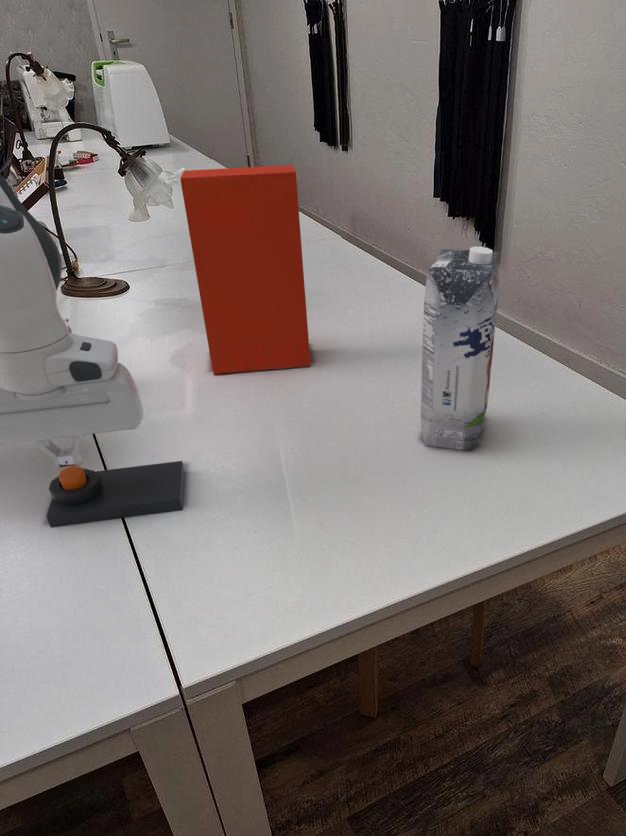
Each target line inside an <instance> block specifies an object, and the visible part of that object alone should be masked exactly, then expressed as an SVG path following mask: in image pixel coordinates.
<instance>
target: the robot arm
mask: <svg viewBox="0 0 626 836" xmlns="http://www.w3.org/2000/svg"><path fill="white" fill-rule="evenodd" d="M62 273H63V263H62V256H61V251H60V250H59V248H58V246H57V244H56V242H55V241H54V239H53V238H52V236H51V235H50V233H49V232H48V231H47V230H46V229H45V228H44V227H43V226H42V225H41V223H40V222H39V221H38V219H36V218H35V217H34V216H33V215H32V213H31V212H29V210H28V209H27V208H26V207H25V206H24V205H23V203H22V202H21V201H20V199H19V197H17V195H16V193H15V192H14V191H13V189H12V188H11V187H10V185H9V184H8V182H7V180H5V178H4V177H3V175H2V174H1V173H0V446H2V445H3V446H4V445H10V444H11V445H12V444H20V443H26V442H27V443H28V442H35V444H36V447H37V448H38V449H39V450H40V451H42V452H43V453H44V454H45V455H47V456H48V457H49V458H51V459H52V462H53V464H54V468H55V469H64V468H68V467H73V466H82V463H83V455H82V452H81V447H82V443H83V440H84V436H85V435H86V436H87V435H94V434H103V433H110V432H111V433H112V432H119V431H120V432H121V431H128V430H136V429H138V427H139V426H140V425H141V423H142V421H143V419H144V406H143V402H142V399H141V395H140V393H139V390H138V387H137V385H136V383H135V380H134V378H133V376H132V374H131V372H130V370H129V369H128V368H127V367H126V366H125V364H124V365H123V363H121V362H119V349H118V347H117V344H116V343H115V342H113V341H111V340H107V339H102V338H101V339H100V338H95V337H89V336H85V335H81V334H80V335H79V334H75V333H72V334H71V333H69V330H68V327H67V326H68V324H67V322H66V321H64V320H65V319H64V318H63V317H62V314H61V313H60V310H59V307H58V289H59V286H60V283H61V278H62ZM63 319H64V320H63ZM61 438H67V439H68V442H69V444H73V447H70V448H61V449H60V447H59V446H58V445H56V444H55V443H54V442H53V441H52V439H53V440H54V439H61Z"/></svg>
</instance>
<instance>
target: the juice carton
mask: <svg viewBox="0 0 626 836" xmlns="http://www.w3.org/2000/svg"><path fill="white" fill-rule="evenodd" d="M499 266H500V265H499V252H497V251H493V249H491V248H489V247H484V246H472V247H470V248H469V249H449V248H448V249H447V248H446V249H445V248H441V249H440V250H439V252H438V254H437V258H436V261H435V262H433V263H432V264H431V265H430V266H429V267H428V270H427V272H426V273H427V274H426V282H425V289H424V298H423V317H422V318H423V319H422V320H423V321H422V355H421V358H422V359H421V384H420V385H421V386H420V387H421V388H420V425H421V432H422V433H421V434H422V439H423V443H424V445H425V446H427V447H435V448H443V449H452V450H460V451H468V452H472V451H474V450H475V448H476V445H477V443H478V441H479V438H480V435H481V431H482V429H483V425H484V420H485V416H486V413H487V408H488V403H489V395H490V386H491V385H490V384H491V374H492V364H493V355H494V345H495V344H494V343H495V334H496V323H497V312H498V303H499V291H500V269H499V268H500V267H499Z"/></svg>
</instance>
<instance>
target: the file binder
mask: <svg viewBox="0 0 626 836" xmlns="http://www.w3.org/2000/svg"><path fill="white" fill-rule="evenodd" d="M179 179H180V186H181V191H182V197H183V198H182V199H183V204H184V208H185V209H184V210H185V213H186V214H185V216H186V222H187V227H188V232H189V239H190V244H191V251H192V257H193V263H194V269H195V275H196V279H197V286H198V292H199V299H200V305H201V309H202V315H203V322H204V327H205V333H206V340H207V345H208V352H209V358H210V364H211V369H212V374H213V375H219V374H220V375H221V374H231V373H243V372H256V371H265V370H266V371H267V370H268V371H269V370H278V369H290V368H302V367H310V366H312V365H311V353H310V339H309V327H308V326H309V325H308V314H307V302H306V301H307V299H306V287H305V273H304V263H303V262H304V261H303V249H302V248H303V247H302V235H301V223H300V222H301V221H300V210H299V209H300V208H299V197H298V196H299V195H298V181H297V172H296V170H295V167H294V165H293V164H286V165H285V164H284V165H266V166H247V167H246V166H245V167H230V168H229V167H227V168H213V169H212V168H211V169H209V168H208V169H191V170H190V169H189V170H188V169H187V170H183V172H182V174H181V175H180V178H179Z"/></svg>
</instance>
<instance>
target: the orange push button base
mask: <svg viewBox="0 0 626 836" xmlns="http://www.w3.org/2000/svg"><path fill="white" fill-rule="evenodd" d="M83 469H84V472H85V475H86V479H87V483H86V484H85V485H84V486H83V487H80V488H78V489H73V490H65V489H63V487H62V485H61V482H60V479H59V475H57V476H56V477H55V478H53V479H52V480H51V481H50V483H49V486H48V492H49V493H50V496H51V501H50V503H49V506H48V510H47V513H46V519H47V522H48V524H49V527H50V529H51V528H59V527H60V528H61V527H66V526H74V525H81V524H88V523H96V522H105V521H111V520H118V519H126V518H134V517H141V516H149V515H156V514H164V513H171V512H180V511H183V509H184V508H183V507H184V494H185V493H184V491H185V474H186V473H185V467H184V462H183V461H182V460H178V461H177V460H176V461H171V462H170V461H169V462H161V463H151V464H144V465H137V466H136V465H135V466H129V467H119V468H113V469H112V468H111V469H104V470H96V471H95V470H92V469H89V468H83Z"/></svg>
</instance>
